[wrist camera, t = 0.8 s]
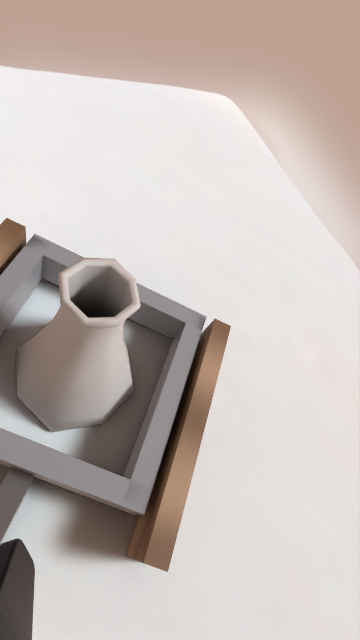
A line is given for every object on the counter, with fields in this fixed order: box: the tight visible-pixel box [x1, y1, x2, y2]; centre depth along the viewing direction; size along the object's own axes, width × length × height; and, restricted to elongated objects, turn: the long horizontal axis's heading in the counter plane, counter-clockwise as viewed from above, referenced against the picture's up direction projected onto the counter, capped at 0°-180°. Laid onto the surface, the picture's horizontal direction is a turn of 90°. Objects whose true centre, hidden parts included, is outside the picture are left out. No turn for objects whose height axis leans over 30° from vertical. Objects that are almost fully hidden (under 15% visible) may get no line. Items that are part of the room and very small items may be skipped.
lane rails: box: [0, 218, 231, 572], centre depth 20 cm, size 14×16×4 cm
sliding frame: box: [0, 234, 206, 544], centre depth 17 cm, size 19×12×5 cm, turn 163°
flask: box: [16, 258, 141, 432], centre depth 18 cm, size 7×7×10 cm
